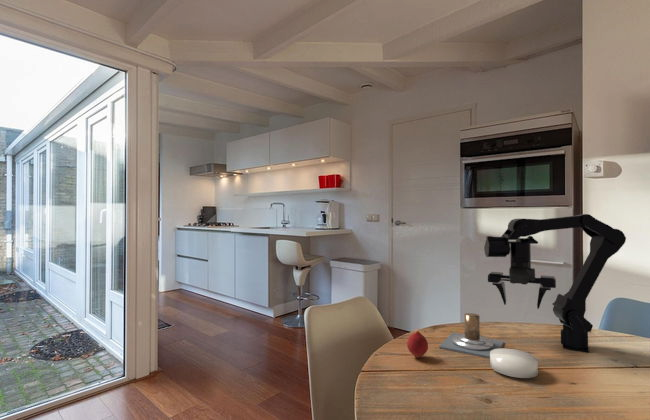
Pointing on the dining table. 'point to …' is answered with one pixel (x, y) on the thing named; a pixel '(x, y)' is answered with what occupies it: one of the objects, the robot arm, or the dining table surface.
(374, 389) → the dining table surface
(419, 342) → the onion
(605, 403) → the dining table surface
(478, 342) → the cylinder on round base
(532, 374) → the white rounded piece
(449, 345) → the mat
